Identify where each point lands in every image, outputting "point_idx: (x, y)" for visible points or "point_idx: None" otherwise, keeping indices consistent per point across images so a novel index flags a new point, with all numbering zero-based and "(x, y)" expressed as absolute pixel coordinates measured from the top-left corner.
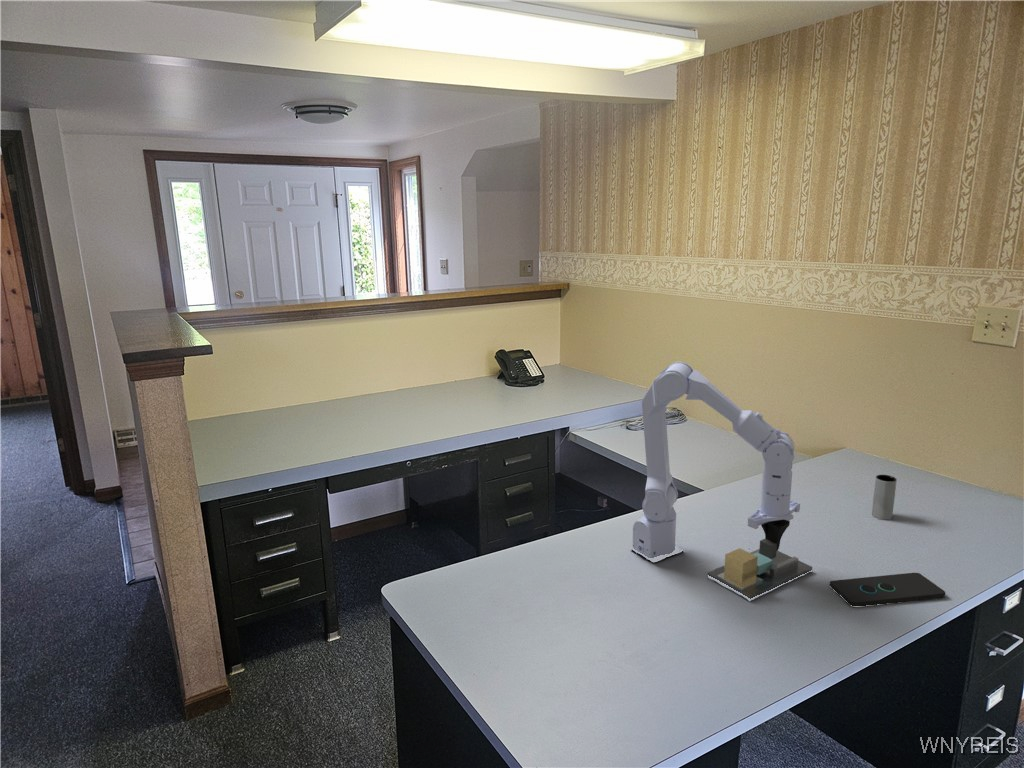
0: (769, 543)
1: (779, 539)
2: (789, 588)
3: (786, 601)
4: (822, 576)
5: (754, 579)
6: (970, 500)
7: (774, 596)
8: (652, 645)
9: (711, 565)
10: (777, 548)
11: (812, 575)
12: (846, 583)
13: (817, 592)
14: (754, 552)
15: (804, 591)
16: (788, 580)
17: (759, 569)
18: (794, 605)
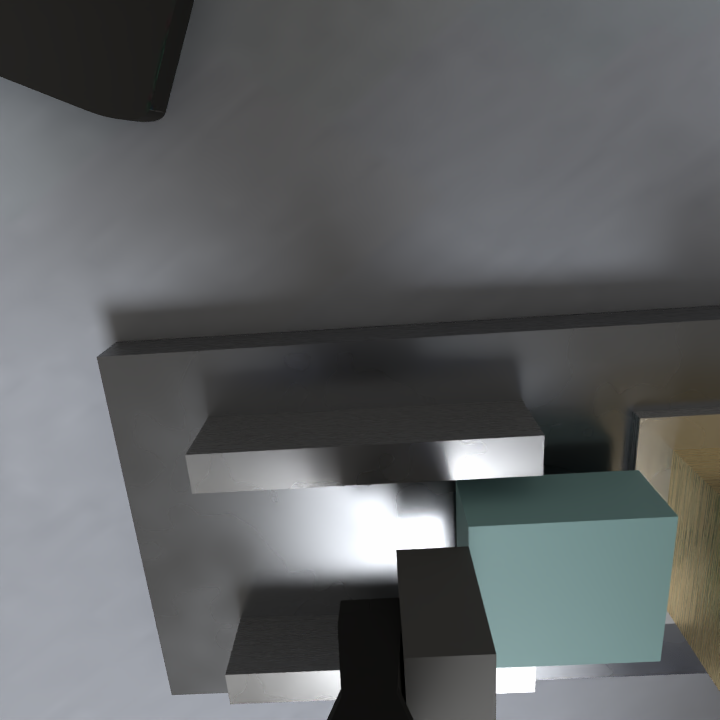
0: (463, 701)
1: (365, 702)
2: (469, 271)
3: (659, 151)
4: (90, 257)
5: (693, 449)
6: None
7: (667, 253)
8: None
9: (649, 713)
10: (362, 615)
11: (152, 308)
12: (21, 7)
13: (326, 108)
14: None
15: (406, 178)
16: (419, 332)
17: (651, 497)
18: (663, 71)
